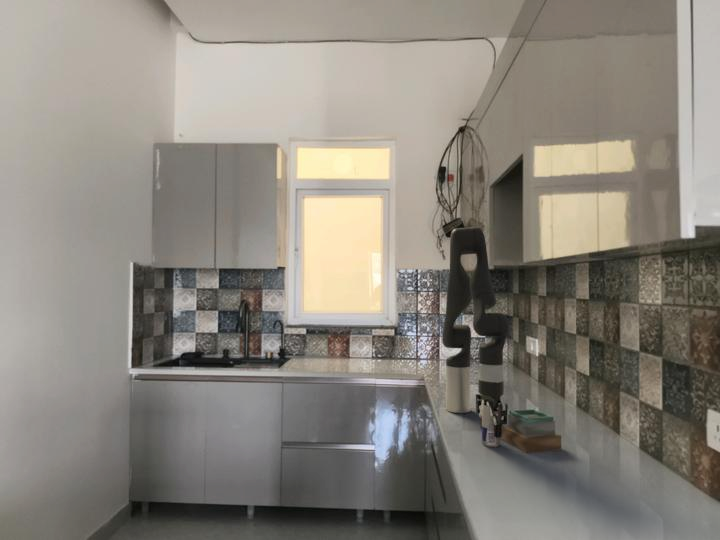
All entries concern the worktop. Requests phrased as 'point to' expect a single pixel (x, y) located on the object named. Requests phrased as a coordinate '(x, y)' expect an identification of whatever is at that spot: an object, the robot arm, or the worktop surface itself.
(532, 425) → the square stepped box
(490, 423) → the energy drink
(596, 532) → the worktop surface
